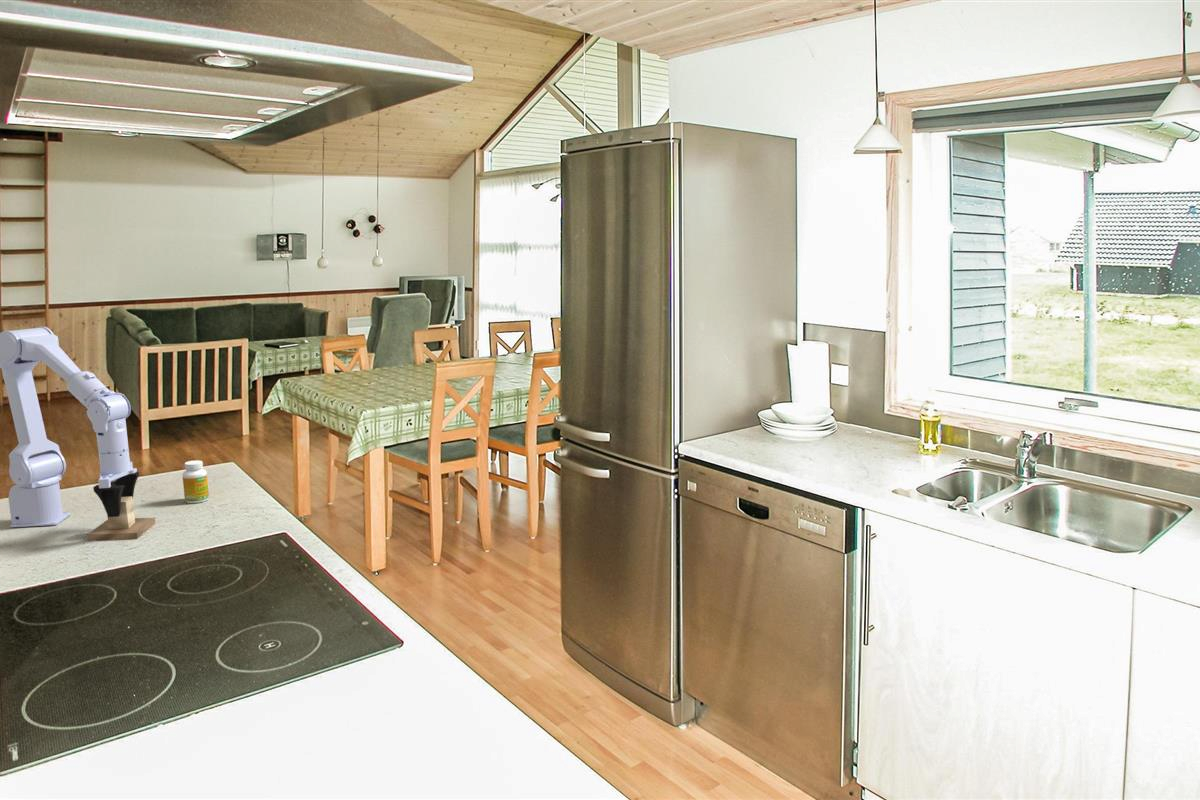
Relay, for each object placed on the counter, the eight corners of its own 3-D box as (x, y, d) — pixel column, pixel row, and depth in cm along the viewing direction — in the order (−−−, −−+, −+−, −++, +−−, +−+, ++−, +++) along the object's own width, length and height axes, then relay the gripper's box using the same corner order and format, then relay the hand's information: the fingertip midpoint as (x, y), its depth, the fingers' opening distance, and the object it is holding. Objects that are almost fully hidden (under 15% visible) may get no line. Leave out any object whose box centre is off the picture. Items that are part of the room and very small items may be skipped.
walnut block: (88, 543, 183) (87, 534, 182) (109, 527, 193) (108, 519, 192) (137, 541, 184) (136, 532, 184) (155, 525, 194) (154, 517, 193)
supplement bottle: (199, 504, 207) (196, 465, 205) (180, 503, 208) (176, 464, 206) (213, 498, 212) (210, 460, 210) (194, 496, 213) (191, 459, 212)
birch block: (108, 529, 186) (105, 502, 184) (115, 523, 189) (112, 497, 188) (128, 528, 186) (125, 501, 185) (135, 522, 190) (132, 496, 189)
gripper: (121, 458, 178) (128, 520, 181) (144, 441, 192) (150, 499, 195) (84, 459, 177) (92, 522, 180) (110, 443, 191) (117, 501, 194)
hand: (120, 510), depth 187 cm, fingers open, 7 cm apart
